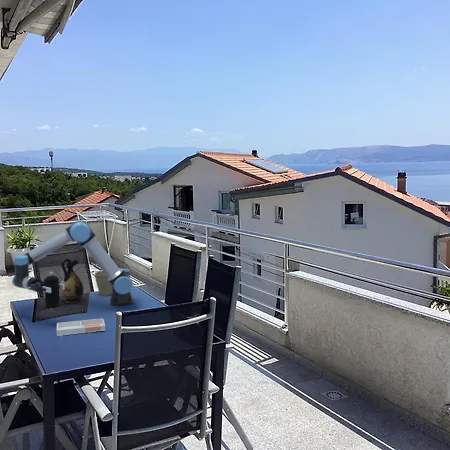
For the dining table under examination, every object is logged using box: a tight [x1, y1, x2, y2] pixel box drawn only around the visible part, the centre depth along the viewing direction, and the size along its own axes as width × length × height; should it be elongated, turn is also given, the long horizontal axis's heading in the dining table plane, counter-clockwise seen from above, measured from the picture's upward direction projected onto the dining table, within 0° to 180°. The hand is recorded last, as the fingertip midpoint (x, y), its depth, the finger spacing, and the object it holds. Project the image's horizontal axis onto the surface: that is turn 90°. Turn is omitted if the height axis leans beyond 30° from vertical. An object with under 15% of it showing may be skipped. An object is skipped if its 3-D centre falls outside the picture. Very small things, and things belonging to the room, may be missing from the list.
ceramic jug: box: [59, 258, 85, 304], centre depth 306 cm, size 17×15×30 cm
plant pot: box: [94, 270, 112, 297], centre depth 325 cm, size 15×15×16 cm
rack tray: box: [56, 318, 106, 337], centre depth 251 cm, size 25×13×4 cm, turn 109°
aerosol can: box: [43, 271, 61, 309], centre depth 258 cm, size 8×8×20 cm
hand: (57, 288), depth 255 cm, fingers closed on aerosol can, 8 cm apart
